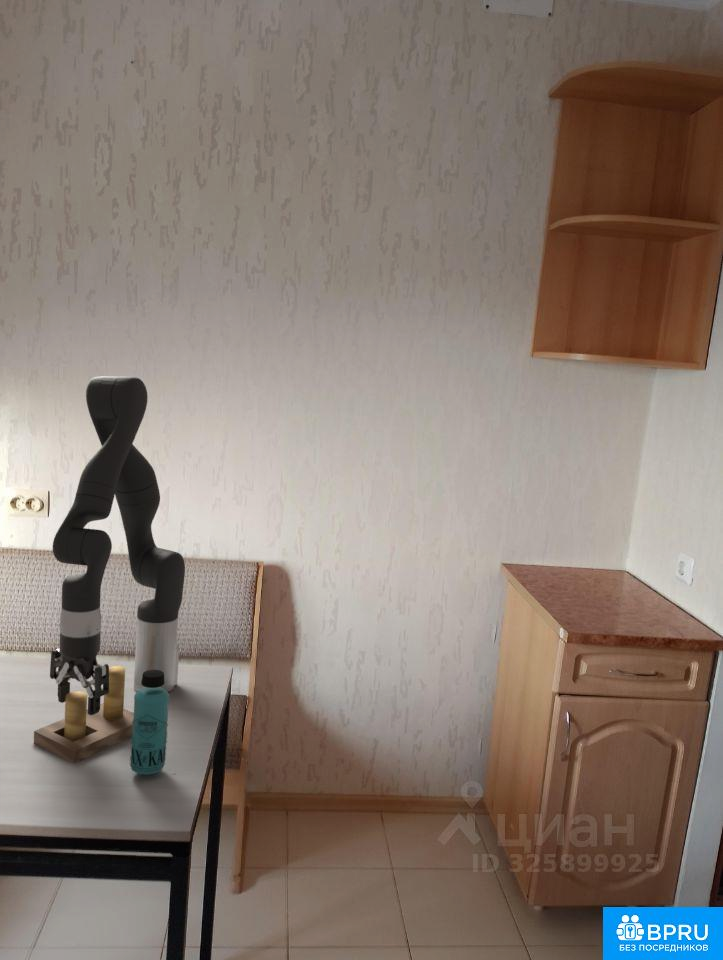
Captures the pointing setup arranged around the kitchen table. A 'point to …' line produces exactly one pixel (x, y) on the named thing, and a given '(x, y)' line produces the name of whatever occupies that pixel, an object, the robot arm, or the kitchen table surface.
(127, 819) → the kitchen table surface
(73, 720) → the pin
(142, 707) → the beverage bottle
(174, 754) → the kitchen table surface
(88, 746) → the pin plate
